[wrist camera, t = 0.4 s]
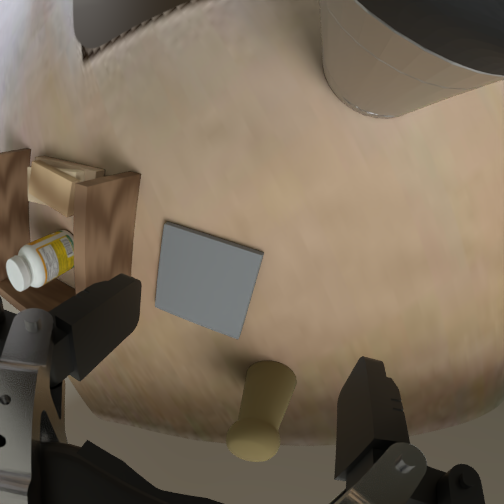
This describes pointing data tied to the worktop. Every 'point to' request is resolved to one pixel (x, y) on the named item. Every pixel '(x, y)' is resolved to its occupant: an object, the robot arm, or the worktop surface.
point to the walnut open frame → (84, 233)
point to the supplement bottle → (41, 260)
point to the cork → (261, 411)
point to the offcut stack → (57, 182)
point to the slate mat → (206, 279)
